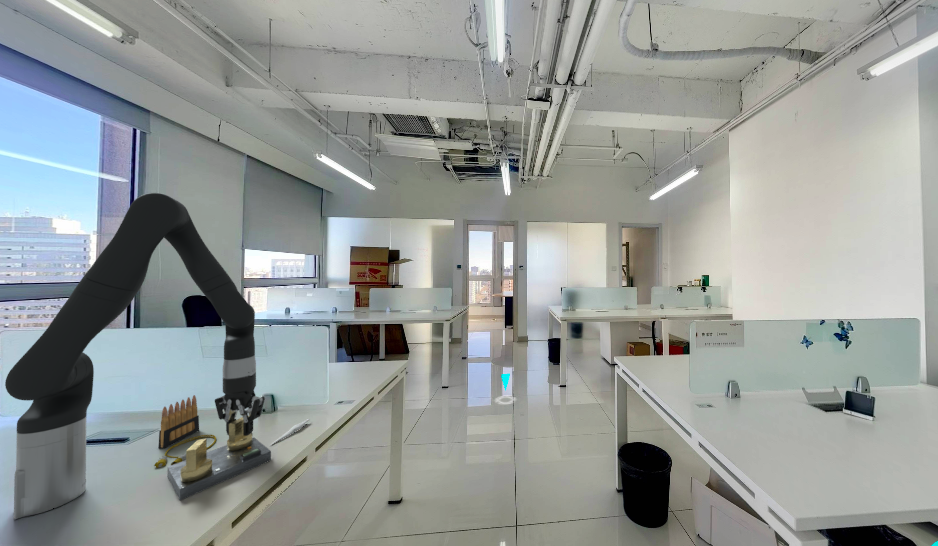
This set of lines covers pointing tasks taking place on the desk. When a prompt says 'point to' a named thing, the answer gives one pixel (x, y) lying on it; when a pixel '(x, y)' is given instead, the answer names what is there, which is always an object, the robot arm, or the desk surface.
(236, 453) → the base
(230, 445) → the knob outer
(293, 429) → the stylus pen
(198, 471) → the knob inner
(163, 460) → the extension cord
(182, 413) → the ammunition clip
